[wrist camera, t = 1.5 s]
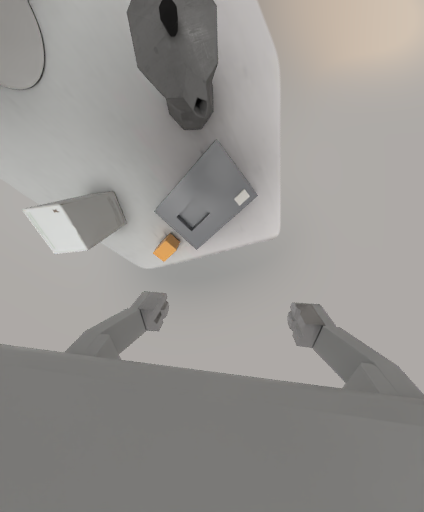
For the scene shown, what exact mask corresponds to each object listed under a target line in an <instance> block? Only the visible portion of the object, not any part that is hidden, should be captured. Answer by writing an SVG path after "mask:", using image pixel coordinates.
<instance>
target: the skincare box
mask: <svg viewBox="0 0 424 512" xmlns="http://www.w3.org/2000/svg"><path fill="white" fill-rule="evenodd" d="M22 211H23V212H24V213H25V215H26V216H27V217H28V219H29V220H30V221H31V223H32V224H33V225H34V227H35V228H36V230H37V231H38V232H39V234H40V235H41V236H42V237H43V239H44V240H45V242H46V243H47V244H48V246H49V247H50V249H51V250H52V252H53V253H54V254H57V253H68V252H78V251H88V250H89V249H90V248H92V247H93V246H95V245H96V244H98V243H99V242H101V241H102V240H103V239H105V238H106V237H108V236H109V235H111V234H112V233H114V232H115V231H116V230H118V229H119V228H121V227H122V226H124V225H125V224H126V220H125V218H124V215H123V213H122V210H121V208H120V206H119V203H118V201H117V198H116V196H115V193H114V192H103V193H95V194H88V195H84V196H79V197H75V198H70V199H66V200H61V201H57V202H52V203H48V204H43V205H39V206H35V207H30V208H26V209H22Z"/></svg>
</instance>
